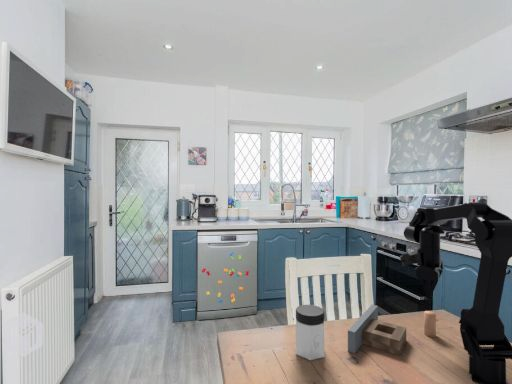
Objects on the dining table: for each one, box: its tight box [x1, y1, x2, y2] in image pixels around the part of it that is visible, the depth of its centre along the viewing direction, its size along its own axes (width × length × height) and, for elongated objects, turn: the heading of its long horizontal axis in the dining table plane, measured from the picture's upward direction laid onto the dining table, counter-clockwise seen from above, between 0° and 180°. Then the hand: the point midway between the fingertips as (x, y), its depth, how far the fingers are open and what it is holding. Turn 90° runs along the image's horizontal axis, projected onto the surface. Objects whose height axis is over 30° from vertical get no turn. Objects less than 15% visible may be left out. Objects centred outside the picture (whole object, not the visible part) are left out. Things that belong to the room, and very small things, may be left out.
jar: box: [295, 304, 326, 361], centre depth 80 cm, size 9×8×12 cm
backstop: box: [347, 304, 379, 354], centre depth 89 cm, size 2×24×6 cm, turn 142°
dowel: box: [423, 310, 437, 338], centre depth 90 cm, size 3×3×7 cm
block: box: [362, 319, 407, 356], centre depth 85 cm, size 10×10×4 cm
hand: (429, 294), depth 90 cm, fingers open, 8 cm apart
